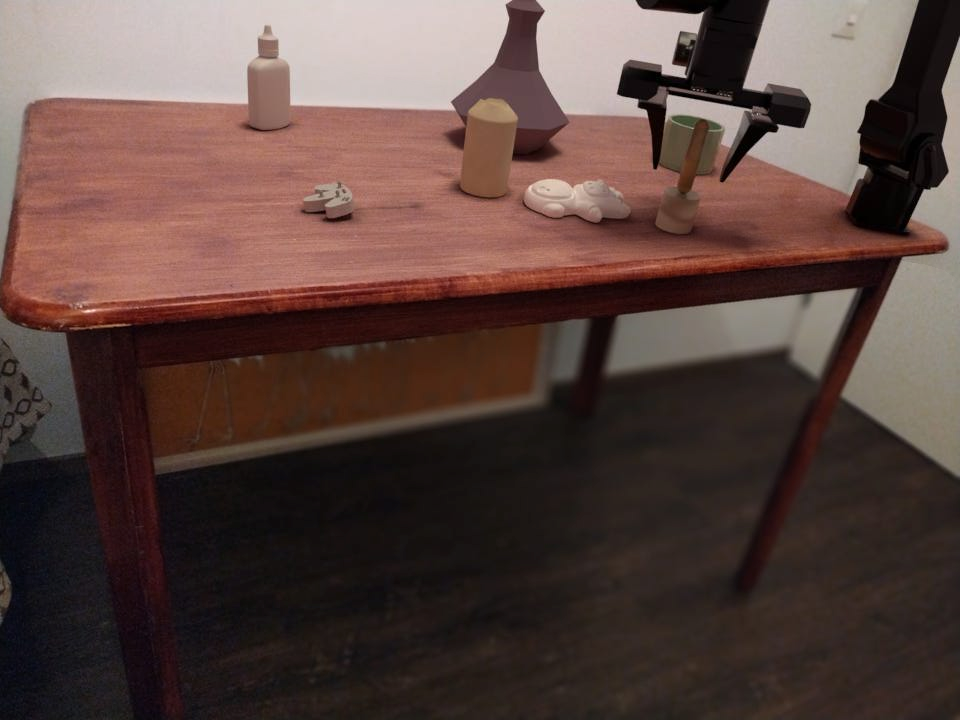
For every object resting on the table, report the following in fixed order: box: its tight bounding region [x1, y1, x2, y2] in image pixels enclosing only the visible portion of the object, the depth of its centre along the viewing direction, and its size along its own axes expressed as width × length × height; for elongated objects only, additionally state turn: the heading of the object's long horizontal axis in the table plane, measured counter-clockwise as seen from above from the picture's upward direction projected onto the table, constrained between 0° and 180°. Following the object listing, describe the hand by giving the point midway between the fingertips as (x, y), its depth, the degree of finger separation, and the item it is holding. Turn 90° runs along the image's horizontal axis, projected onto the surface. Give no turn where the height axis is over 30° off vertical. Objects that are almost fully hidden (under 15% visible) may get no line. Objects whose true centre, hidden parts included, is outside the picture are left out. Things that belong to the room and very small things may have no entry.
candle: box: [459, 98, 518, 198], centre depth 82 cm, size 6×6×10 cm
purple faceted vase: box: [450, 0, 570, 155], centre depth 97 cm, size 16×16×20 cm
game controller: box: [302, 180, 418, 219], centre depth 75 cm, size 6×12×3 cm, turn 132°
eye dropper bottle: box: [246, 24, 291, 131], centre depth 92 cm, size 4×6×12 cm
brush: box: [654, 119, 710, 235], centre depth 80 cm, size 4×4×12 cm
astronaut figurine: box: [523, 178, 631, 224], centre depth 83 cm, size 9×12×3 cm
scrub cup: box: [659, 113, 726, 176], centre depth 103 cm, size 8×8×6 cm
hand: (687, 174), depth 80 cm, fingers open, 7 cm apart
